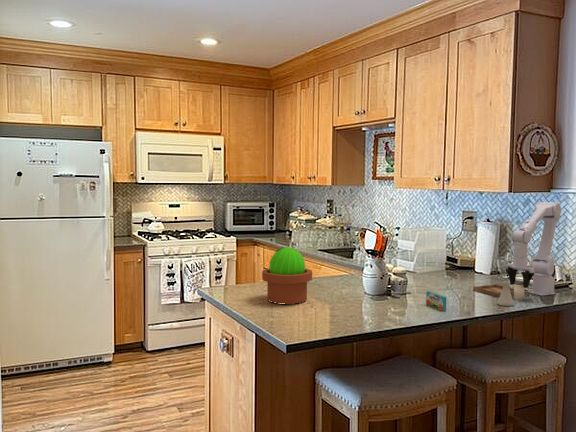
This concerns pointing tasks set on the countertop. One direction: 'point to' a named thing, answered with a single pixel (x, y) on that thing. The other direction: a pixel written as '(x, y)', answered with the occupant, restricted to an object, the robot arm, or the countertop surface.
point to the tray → (491, 290)
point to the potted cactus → (287, 277)
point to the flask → (505, 296)
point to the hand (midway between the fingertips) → (519, 285)
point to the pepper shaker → (518, 290)
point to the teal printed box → (436, 300)
